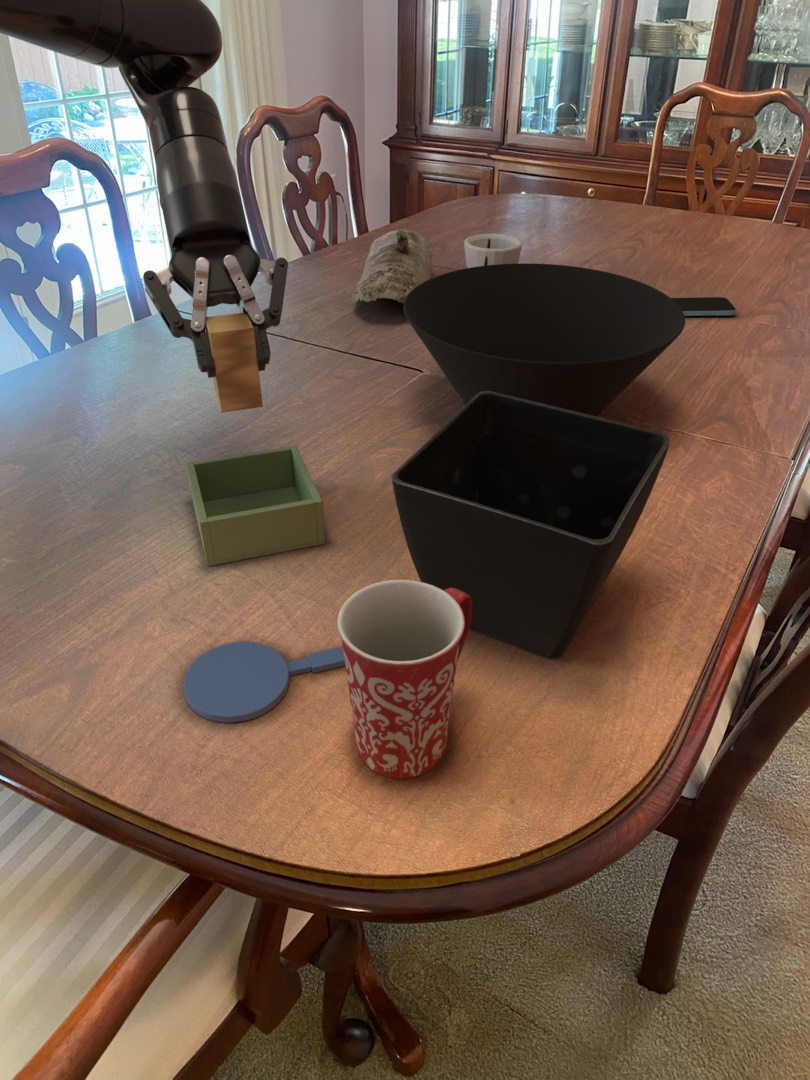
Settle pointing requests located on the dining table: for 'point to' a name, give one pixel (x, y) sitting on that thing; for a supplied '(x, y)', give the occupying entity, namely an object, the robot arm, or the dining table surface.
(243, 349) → the wooden block
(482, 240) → the mug
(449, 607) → the mug
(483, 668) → the dining table surface
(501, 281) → the bowl
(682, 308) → the smartphone
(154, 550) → the dining table surface
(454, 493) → the flower pot
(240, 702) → the blue ping pong paddle
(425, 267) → the log
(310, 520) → the green storage bin
